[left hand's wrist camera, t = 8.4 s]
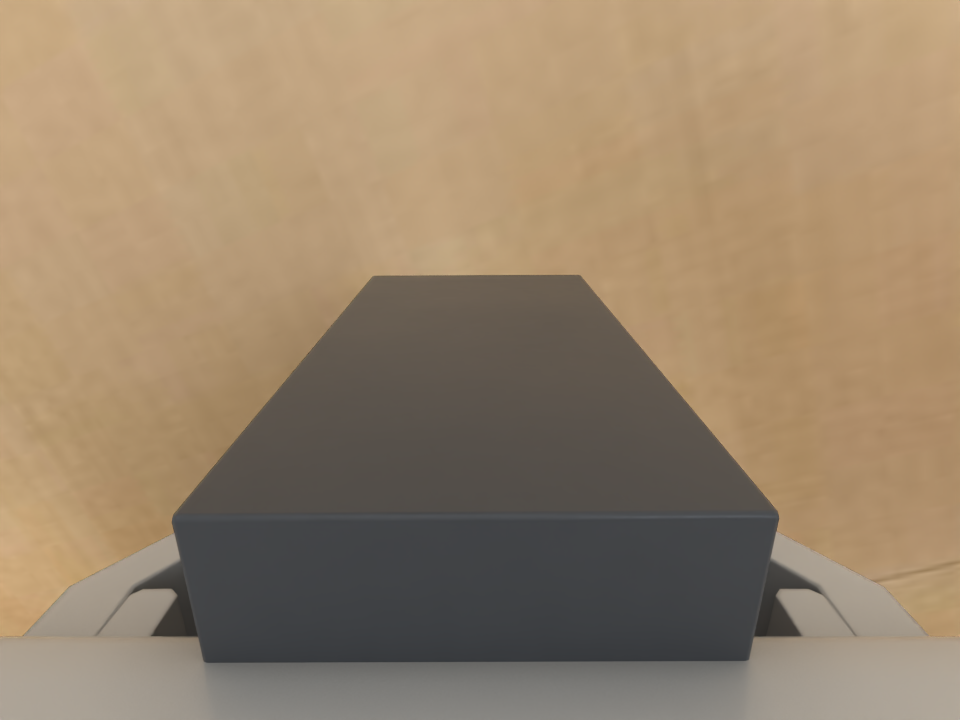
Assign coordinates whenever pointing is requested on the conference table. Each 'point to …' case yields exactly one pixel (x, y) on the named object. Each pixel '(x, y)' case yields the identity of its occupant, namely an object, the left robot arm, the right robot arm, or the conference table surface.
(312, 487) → the bar
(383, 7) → the conference table surface
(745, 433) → the conference table surface
